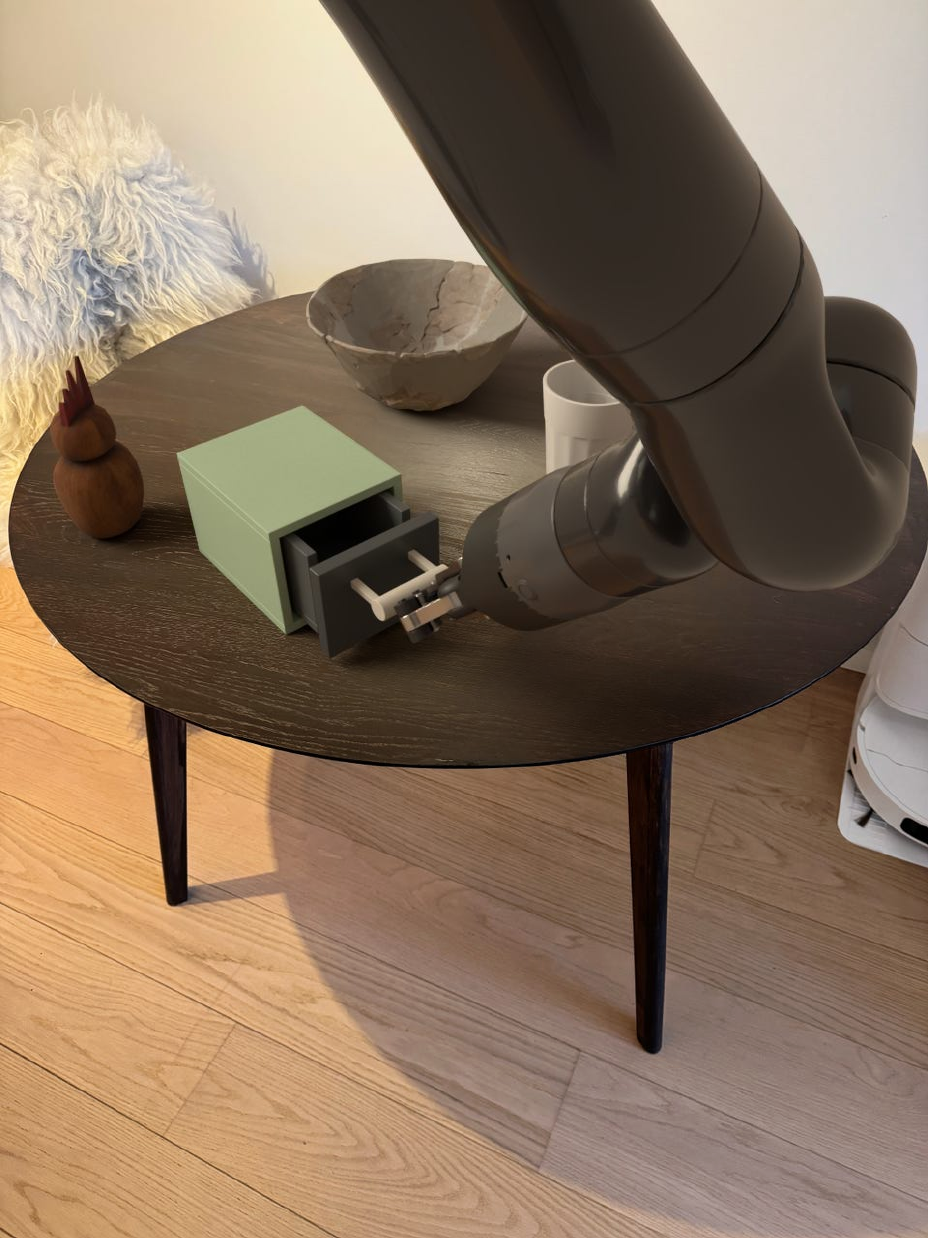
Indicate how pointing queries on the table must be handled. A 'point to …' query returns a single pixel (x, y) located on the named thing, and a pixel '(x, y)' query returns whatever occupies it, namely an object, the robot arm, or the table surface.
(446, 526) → the table surface
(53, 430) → the wooden figurine
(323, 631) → the fryer drawer
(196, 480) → the green drawer cabinet
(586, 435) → the cup
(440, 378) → the ceramic bowl
